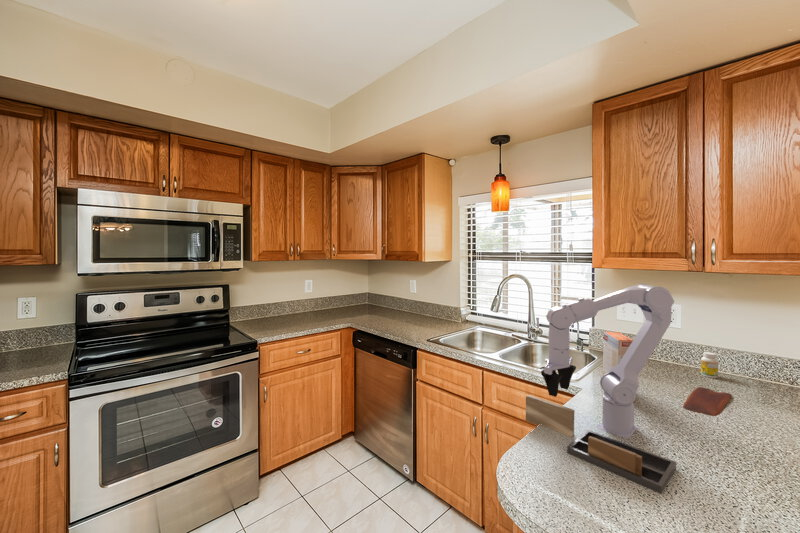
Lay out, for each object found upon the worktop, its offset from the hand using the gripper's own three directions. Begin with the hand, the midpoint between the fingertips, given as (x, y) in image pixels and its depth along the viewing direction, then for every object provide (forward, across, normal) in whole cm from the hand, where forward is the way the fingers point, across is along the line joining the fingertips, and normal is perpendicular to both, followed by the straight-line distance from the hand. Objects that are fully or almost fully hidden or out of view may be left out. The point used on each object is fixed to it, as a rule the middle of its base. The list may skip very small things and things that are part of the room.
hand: (558, 391), depth 104 cm
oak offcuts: (+10, +11, +18) cm, 23 cm away
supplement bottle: (+11, -88, +23) cm, 91 cm away
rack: (+10, +7, +18) cm, 22 cm away
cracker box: (+11, -43, +3) cm, 44 cm away
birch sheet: (+10, +4, -1) cm, 11 cm away
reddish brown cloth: (+12, -55, +27) cm, 62 cm away
